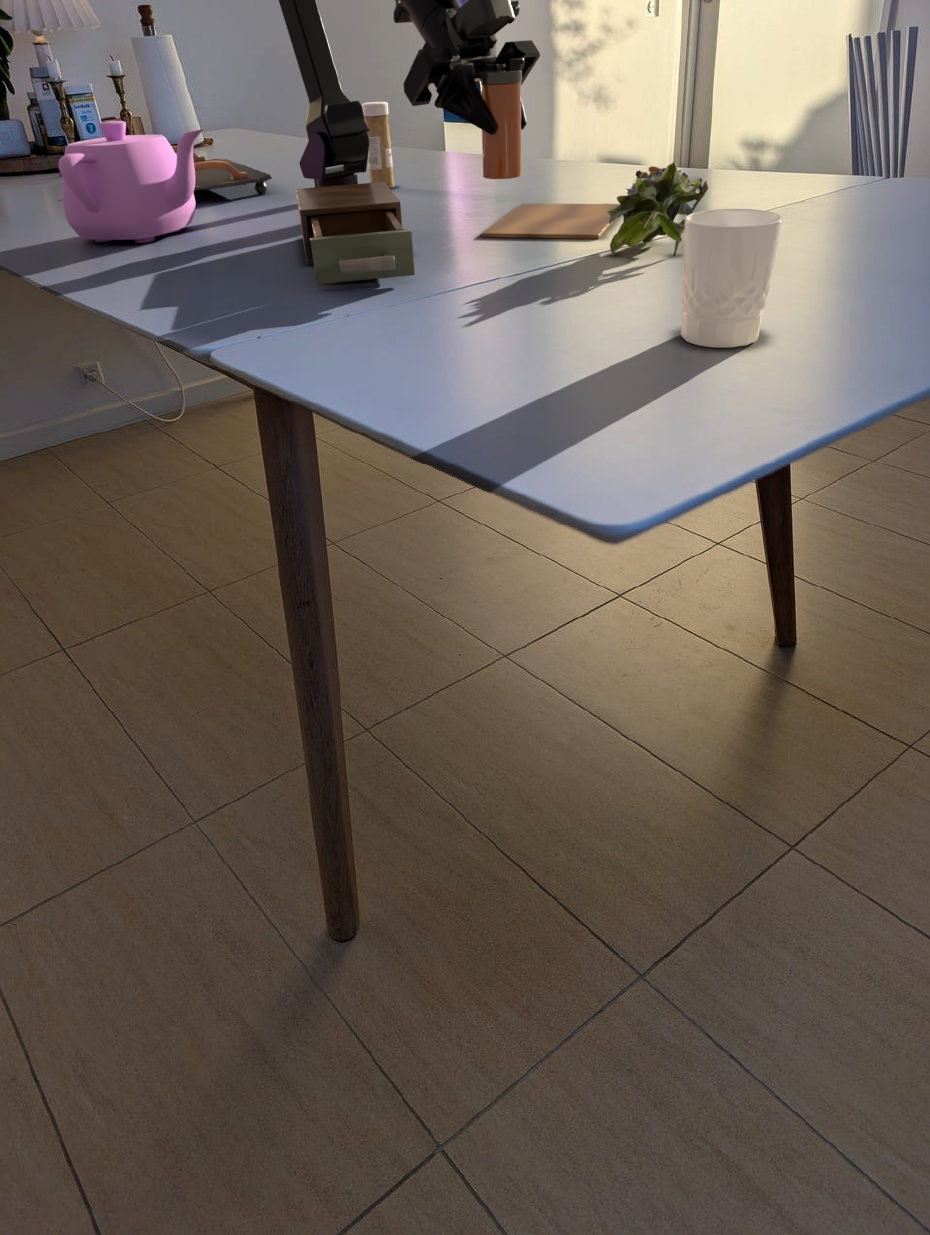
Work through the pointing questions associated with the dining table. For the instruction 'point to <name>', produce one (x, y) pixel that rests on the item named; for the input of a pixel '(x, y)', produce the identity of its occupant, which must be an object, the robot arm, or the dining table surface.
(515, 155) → the spice bottle
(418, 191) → the dining table surface
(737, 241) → the white cup
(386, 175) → the sprinkles bottle
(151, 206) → the teapot
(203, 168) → the serving tray
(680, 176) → the green leafy plant
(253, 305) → the dining table surface
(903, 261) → the dining table surface
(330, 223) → the drawer
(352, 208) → the cabinet
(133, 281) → the dining table surface
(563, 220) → the wooden cutting board
